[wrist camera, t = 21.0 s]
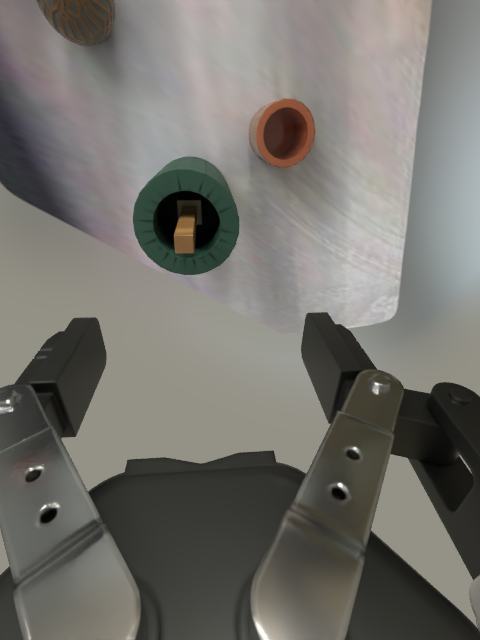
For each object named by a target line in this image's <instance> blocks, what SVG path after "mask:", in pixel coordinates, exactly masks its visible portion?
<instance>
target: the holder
mask: <svg viewBox="0 0 480 640" xmlns="http://www.w3.org/2000/svg"><path fill="white" fill-rule="evenodd" d="M314 136H315V126H314V120H313V117H312V115H311V113H310V111H309V110H308V108H307V107H306V106H305V105H304V104H303V103H301V102H299V101H297V100H295V99H281V100H278V101H276V102H273V103H270V104H268V105H265V106H264V107H262V108H261V109H260V110H259V111H258V112H257V113H256V114H255V116H254V117H253V119H252V122H251V125H250V129H249V139H250V144H251V147H252V149H253V151H254V152H255V154H256V155H257V156H258V157H260V158H261V159H262V160H264V161H266V162H268V163H270V164H272V165H274V166H277V167H290V166H293V165H296V164H297V163H299V162H300V161H301V160H303V158H305V156H306V155H307V154H308V152H309V151H310V149H311V146H312V144H313V141H314Z"/></svg>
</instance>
